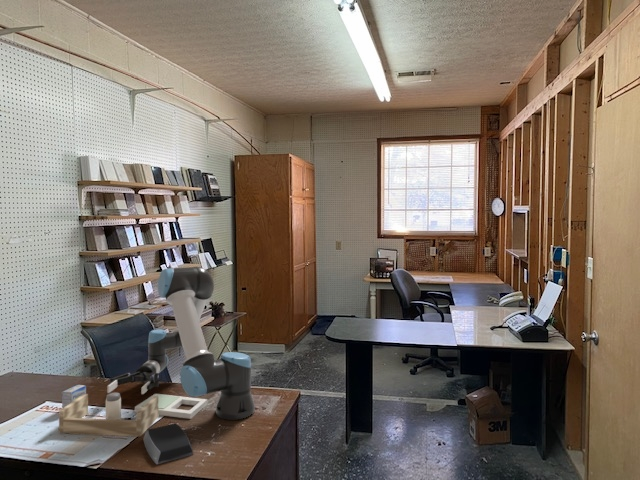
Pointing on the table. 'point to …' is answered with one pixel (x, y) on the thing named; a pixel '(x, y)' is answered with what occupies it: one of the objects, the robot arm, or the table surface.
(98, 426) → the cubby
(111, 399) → the cream bottle
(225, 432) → the table surface
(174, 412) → the hole board
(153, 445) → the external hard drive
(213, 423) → the table surface
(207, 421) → the table surface
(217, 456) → the table surface
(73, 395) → the medicine box
